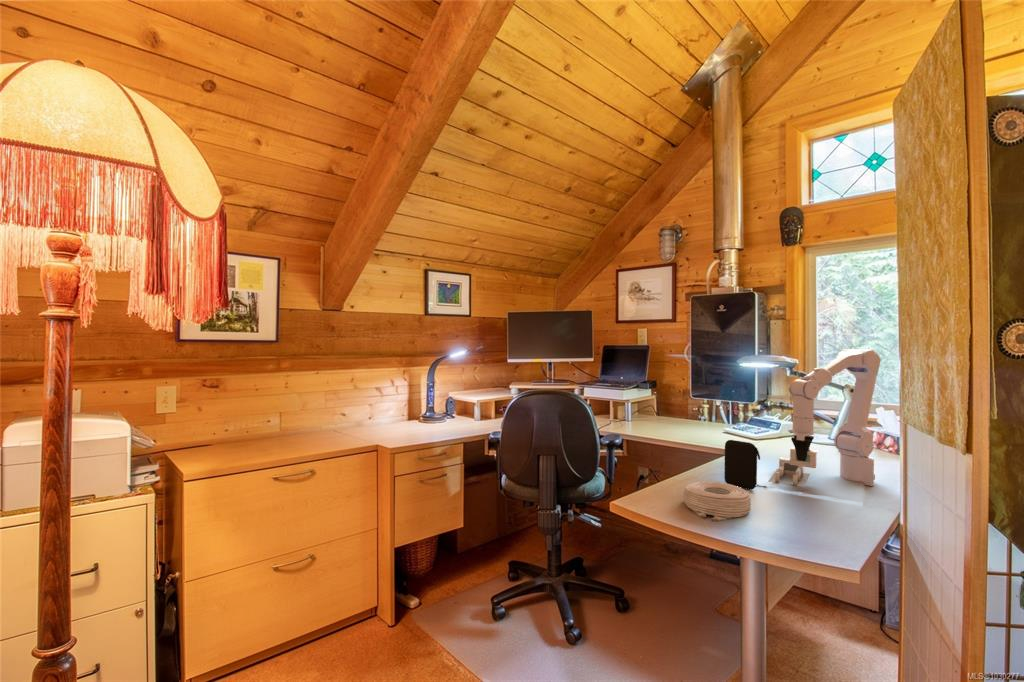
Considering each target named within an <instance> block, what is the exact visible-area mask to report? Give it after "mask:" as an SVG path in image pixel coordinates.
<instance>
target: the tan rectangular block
mask: <svg viewBox="0 0 1024 682" xmlns="http://www.w3.org/2000/svg"><path fill="white" fill-rule="evenodd" d="M778 463H779V464H778V465H779V466H778V469H779V468H780V466H784V475H791V476H793V475H796V470H797V468H800V469H801V477H803V476H804V473H805V467H802V466H796V465H790V457H784V456H780V458H779V461H778Z"/></svg>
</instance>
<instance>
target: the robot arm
mask: <svg viewBox="0 0 1024 682" xmlns="http://www.w3.org/2000/svg"><path fill="white" fill-rule="evenodd" d="M881 359H882V358H881V357H880V355H879V354H878V352H877V351H875V350H874V349H850V348H849V349H848V348H845V349H843V350H842V351H841V352H838V354H837V357H836V358H835V359H833V360H832V361H831V362H830V363H828V364H827V365H826V366H824V367H815V368H813V369H812V370H813V371H811V372H809V373H808V374H807V375H804V376H803V377H802V378H801V379H794V380H793V381H791V383H790V385H789V387H788V393H789V395H790V396H791V397H790V399H791V402H792V428H789V429H787V430H788V431H787V432H789V433H792V434H793V436H792V437H791V439H790V440H791V442H792V444H793V447H795V450H796V455H797V459H798V461H806V458H807V452H808V449H810V447H811V444H812V442H813V440H814V437H815V436H814V435H815V431H814V413H815V412H814V409H815V408H814V405H815V403H814V402H815V398H817V397H818V395H819V393H820V391H821V390H822V389H824V387H825V386H828V385H829V384H830V383H831V382H832V381H833V376H836V375H837V374H839V373H841V372H842V371H844V370H846V371H847V372H849V373H850V374H851V375H853V376H854V377H855V383H854V387H853V391H852V397H851V402H850V407H849V411H848V415H847V421H846V423H845V424H843V425H841V426H840V427H838V431H837V433H836V434H835V436H834V438H833V439H834V440H833V443H834V447H835V448H836V449H837V451H838V453H840V454H839V457H840V460H839V476H840V478H842V479H845V480H847V481H853V482H863V485H864V486H870V487H874V486H875V485H874V482H875V480H876V474H875V473H874V471H875V469H874V468H875V456H870V455H871V453H872V452H873V451H874V434H873V433H872V432H871V431H870V430H869V429H868V428H867V427H868V420H869V415H870V410H871V405H872V401H873V396H874V391H875V387H876V381H877V377H878V375H879V369H880V363H881Z"/></svg>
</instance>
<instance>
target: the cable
mask: <svg viewBox="0 0 1024 682" xmlns="http://www.w3.org/2000/svg"><path fill="white" fill-rule="evenodd" d="M751 499H752V498H751V495H750V493H749V492H748V490H746V489H743V488H740V487H737V486H734V485H731V484H727V483H726V482H721V481H720V482H719V481H710V480H708V481H696V482H691V483H689V484H687V485H686V486H685V487H684V489H683V495H682V500H683V501H682V502H683V503H684V504H685V506H686V507H687V508H689V509H690V510H692V511H693V512H694V513H695V514H697V515H698V516H699V517H700V518H702V519H704V518H706V517H707V515H708V516H713V517H711V521H713V522H714V521H716V522H717V520H718V521H724V520H728V519H727V518H729V519H732V518H731V517H734V518H739V517H744V516H746V515H748V514H749V513H750V511H751V510H752V509H751V505H752V504H751ZM723 519H724V520H723Z"/></svg>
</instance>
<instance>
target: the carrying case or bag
mask: <svg viewBox="0 0 1024 682" xmlns="http://www.w3.org/2000/svg"><path fill="white" fill-rule="evenodd" d="M758 460H759V461H761V454H760V451H759V450H758V447H756V445H755V444H754V443H753V442H749V441H742V440H741V441H740V440H735V439H728V440H727V441H725V443H724V474H723V475H724V476H723V477H724V483H726V484H731V485H734V486H738V487H742V489H743V488H747V489H746V490H748V489H751V490H750V491H752V490H754V489H755V488H756V487H757V485H758V483H757V482H758V479H757V477H758Z"/></svg>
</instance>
